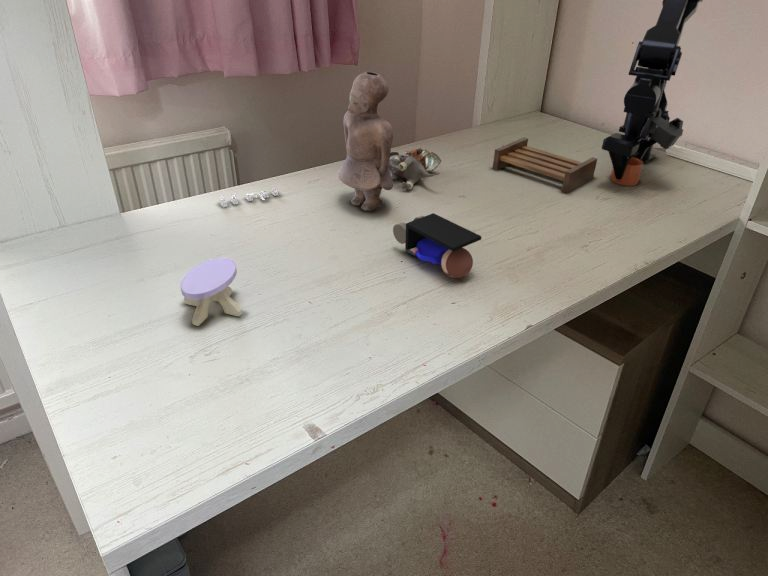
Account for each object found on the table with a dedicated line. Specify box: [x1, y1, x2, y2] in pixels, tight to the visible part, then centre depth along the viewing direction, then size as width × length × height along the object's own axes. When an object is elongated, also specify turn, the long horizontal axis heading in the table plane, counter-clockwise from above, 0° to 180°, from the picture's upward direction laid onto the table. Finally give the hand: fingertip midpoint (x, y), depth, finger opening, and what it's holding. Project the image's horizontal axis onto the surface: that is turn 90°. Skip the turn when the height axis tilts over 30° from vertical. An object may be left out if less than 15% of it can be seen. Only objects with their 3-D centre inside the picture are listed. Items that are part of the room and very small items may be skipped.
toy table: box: [180, 256, 243, 327], centre depth 86 cm, size 10×9×6 cm
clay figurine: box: [337, 71, 394, 212], centre depth 112 cm, size 13×10×25 cm
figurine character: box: [392, 212, 482, 279], centre depth 99 cm, size 7×8×15 cm
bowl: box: [609, 157, 644, 186], centre depth 133 cm, size 6×6×4 cm
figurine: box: [388, 148, 442, 190], centre depth 131 cm, size 20×6×17 cm
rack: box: [491, 137, 598, 194], centre depth 134 cm, size 12×18×4 cm, turn 48°
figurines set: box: [219, 188, 279, 208], centre depth 118 cm, size 12×3×3 cm, turn 122°
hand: (625, 174), depth 133 cm, fingers open, 7 cm apart
